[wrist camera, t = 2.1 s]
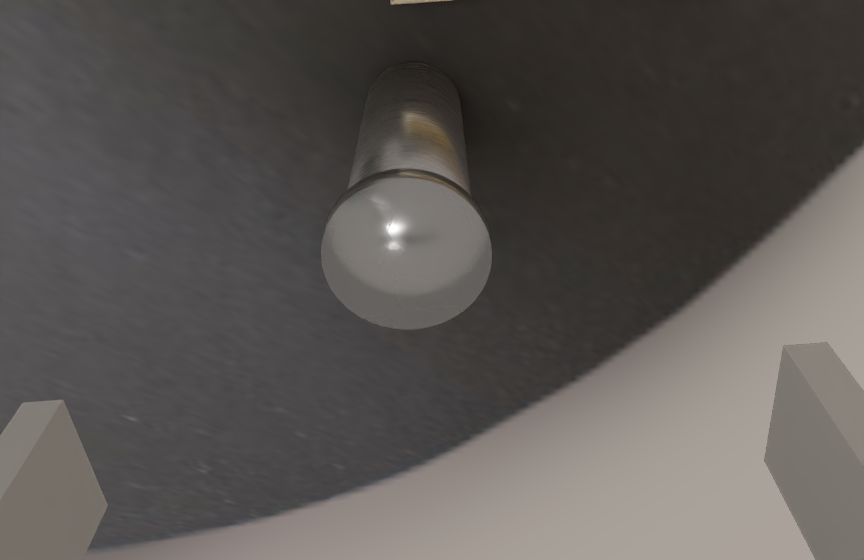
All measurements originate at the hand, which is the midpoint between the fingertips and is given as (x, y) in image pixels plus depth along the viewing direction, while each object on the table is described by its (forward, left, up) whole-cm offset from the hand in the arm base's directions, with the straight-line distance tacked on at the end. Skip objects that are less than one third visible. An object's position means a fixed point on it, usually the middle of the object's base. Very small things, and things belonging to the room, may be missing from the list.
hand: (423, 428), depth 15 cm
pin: (-1, -1, -21) cm, 21 cm away
